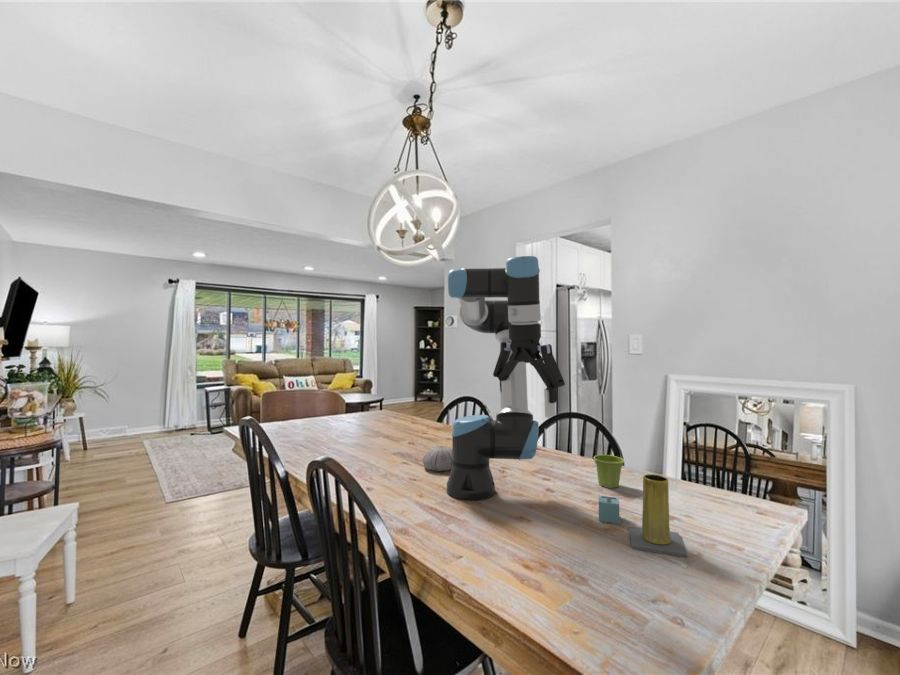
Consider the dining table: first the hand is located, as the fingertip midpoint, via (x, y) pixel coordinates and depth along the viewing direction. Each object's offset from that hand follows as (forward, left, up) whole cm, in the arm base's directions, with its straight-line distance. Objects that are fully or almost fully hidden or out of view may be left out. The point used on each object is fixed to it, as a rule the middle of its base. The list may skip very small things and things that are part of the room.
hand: (527, 410), depth 99 cm
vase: (+19, +23, -30) cm, 42 cm away
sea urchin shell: (-57, +13, -30) cm, 66 cm away
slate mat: (+19, +23, -30) cm, 42 cm away
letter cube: (+5, +25, -30) cm, 39 cm away
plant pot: (-10, +48, -30) cm, 58 cm away
